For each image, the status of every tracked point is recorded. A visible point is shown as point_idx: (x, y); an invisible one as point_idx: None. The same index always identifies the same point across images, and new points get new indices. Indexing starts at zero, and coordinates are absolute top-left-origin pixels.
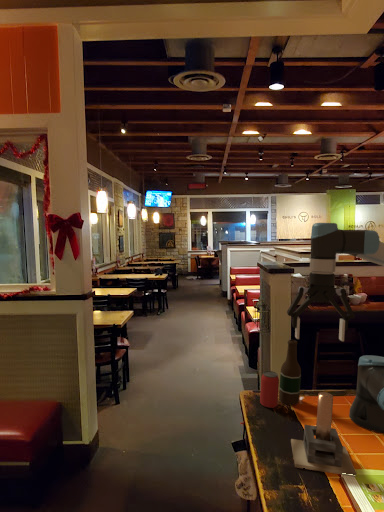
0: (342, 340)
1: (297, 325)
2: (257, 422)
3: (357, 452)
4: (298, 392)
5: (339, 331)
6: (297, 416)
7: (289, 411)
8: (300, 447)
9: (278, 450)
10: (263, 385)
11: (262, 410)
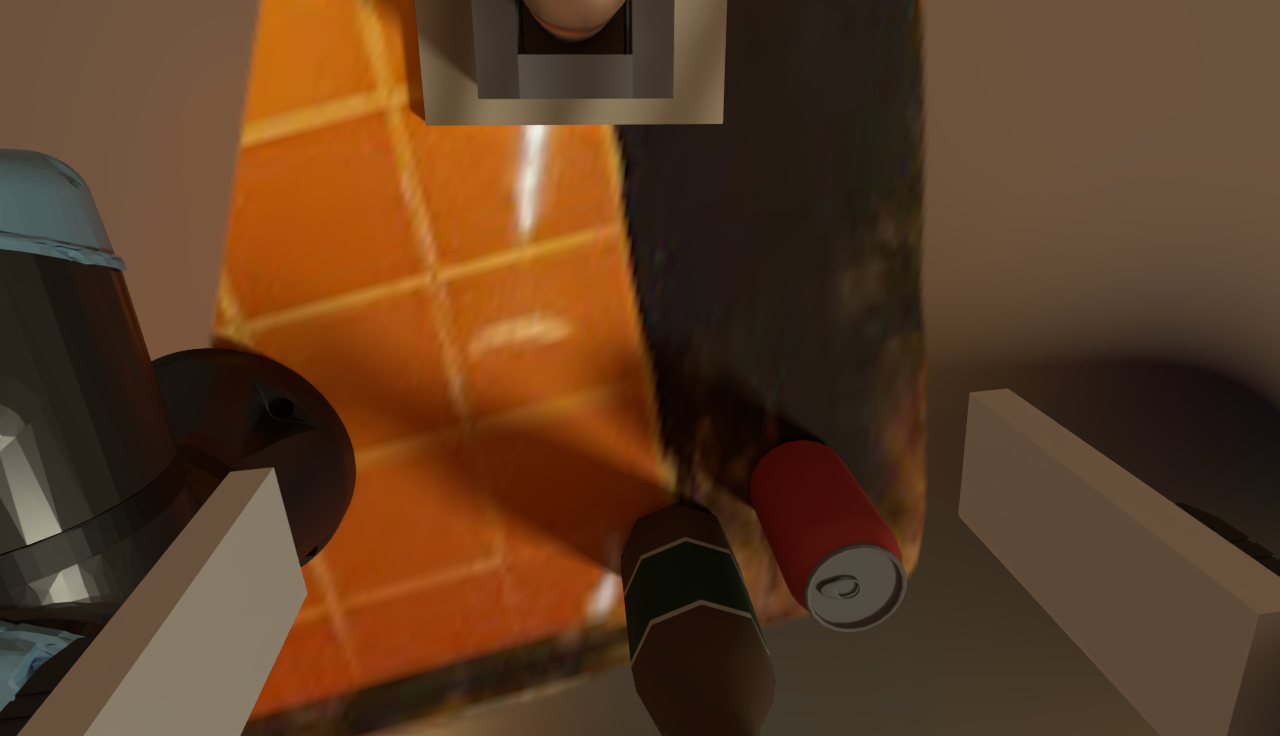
0: (252, 476)
1: (1172, 505)
2: (879, 273)
3: (363, 114)
4: (636, 566)
5: (260, 673)
6: (649, 395)
7: (687, 435)
8: (681, 47)
9: (798, 19)
10: (877, 513)
11: (837, 405)
